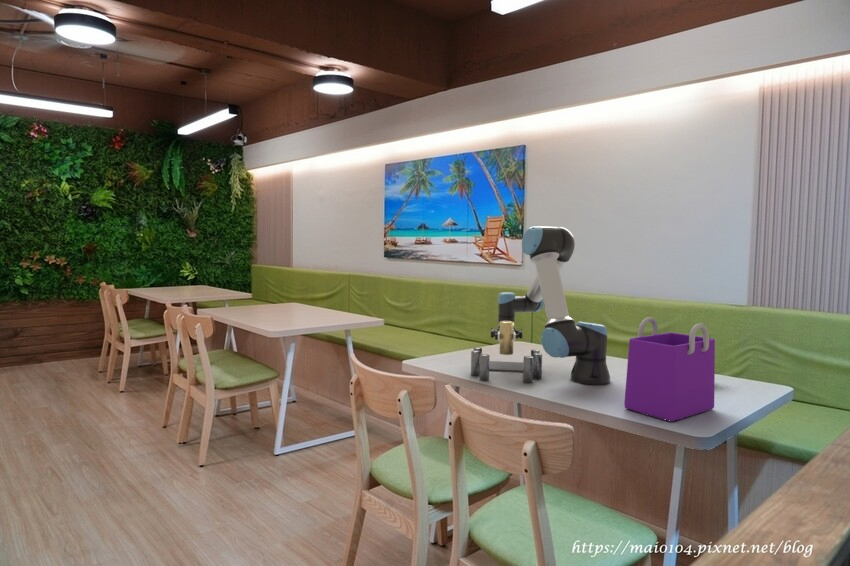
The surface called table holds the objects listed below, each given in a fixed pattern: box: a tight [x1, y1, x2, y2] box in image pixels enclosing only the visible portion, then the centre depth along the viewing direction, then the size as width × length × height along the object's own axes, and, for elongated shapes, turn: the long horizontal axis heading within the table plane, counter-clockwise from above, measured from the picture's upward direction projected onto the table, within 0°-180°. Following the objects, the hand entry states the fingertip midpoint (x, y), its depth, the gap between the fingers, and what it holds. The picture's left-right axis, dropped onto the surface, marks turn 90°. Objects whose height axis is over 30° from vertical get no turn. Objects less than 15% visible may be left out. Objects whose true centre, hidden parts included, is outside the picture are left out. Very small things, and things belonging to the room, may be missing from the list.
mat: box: [489, 360, 524, 373], centre depth 239 cm, size 16×16×1 cm
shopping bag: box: [623, 316, 716, 422], centre depth 179 cm, size 28×22×30 cm
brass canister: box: [499, 321, 514, 356], centre depth 222 cm, size 6×6×13 cm
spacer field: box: [470, 346, 543, 384], centre depth 222 cm, size 29×18×10 cm, turn 82°
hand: (506, 337), depth 217 cm, fingers closed on brass canister, 6 cm apart
